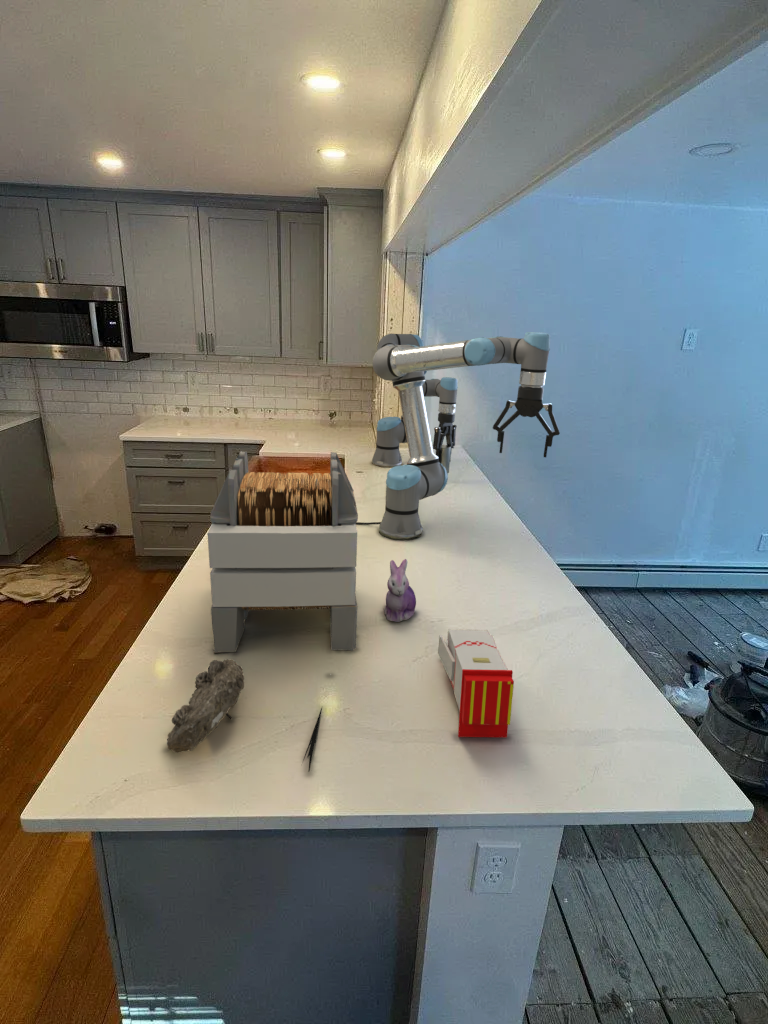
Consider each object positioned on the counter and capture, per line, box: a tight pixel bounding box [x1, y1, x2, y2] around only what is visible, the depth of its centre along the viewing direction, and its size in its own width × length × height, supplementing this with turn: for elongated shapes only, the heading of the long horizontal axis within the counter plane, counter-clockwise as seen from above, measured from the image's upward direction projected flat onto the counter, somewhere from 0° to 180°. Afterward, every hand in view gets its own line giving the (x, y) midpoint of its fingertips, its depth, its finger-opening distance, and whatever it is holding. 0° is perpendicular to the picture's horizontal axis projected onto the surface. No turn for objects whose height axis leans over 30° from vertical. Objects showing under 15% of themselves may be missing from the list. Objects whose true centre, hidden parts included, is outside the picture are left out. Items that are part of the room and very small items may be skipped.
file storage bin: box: [206, 450, 359, 654], centre depth 137 cm, size 34×33×41 cm
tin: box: [441, 444, 452, 474], centre depth 262 cm, size 6×6×12 cm
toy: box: [437, 628, 515, 738], centre depth 117 cm, size 12×13×30 cm
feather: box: [301, 673, 332, 771], centre depth 108 cm, size 2×28×2 cm
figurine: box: [384, 558, 417, 623], centre depth 145 cm, size 9×10×15 cm
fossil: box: [166, 658, 245, 754], centre depth 106 cm, size 22×10×15 cm
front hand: (522, 454), depth 179 cm, fingers open, 13 cm apart
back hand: (442, 462), depth 263 cm, fingers closed on tin, 6 cm apart
